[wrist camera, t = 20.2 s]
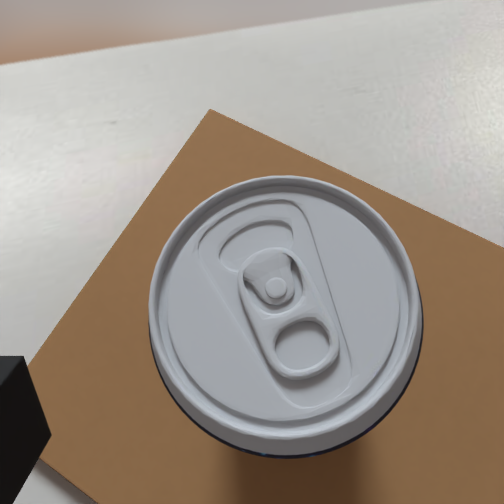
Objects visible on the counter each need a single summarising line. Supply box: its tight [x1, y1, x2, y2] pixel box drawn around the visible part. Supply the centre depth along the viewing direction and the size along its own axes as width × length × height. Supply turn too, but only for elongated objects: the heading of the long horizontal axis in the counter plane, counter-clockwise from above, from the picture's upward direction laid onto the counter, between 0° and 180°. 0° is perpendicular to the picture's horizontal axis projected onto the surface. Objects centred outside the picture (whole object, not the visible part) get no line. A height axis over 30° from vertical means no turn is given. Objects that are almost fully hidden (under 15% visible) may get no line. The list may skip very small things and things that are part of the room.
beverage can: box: [148, 175, 424, 459], centre depth 14 cm, size 6×6×12 cm
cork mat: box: [27, 109, 504, 504], centre depth 20 cm, size 20×18×1 cm
